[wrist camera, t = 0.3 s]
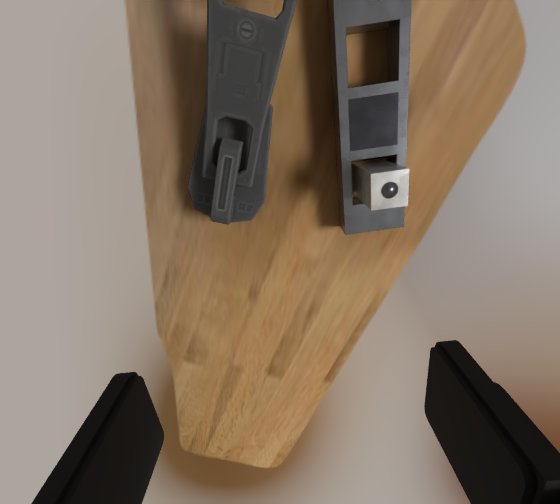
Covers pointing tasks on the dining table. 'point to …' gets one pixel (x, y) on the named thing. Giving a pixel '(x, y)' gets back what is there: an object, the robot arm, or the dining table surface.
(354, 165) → the grey tall square block
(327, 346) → the dining table surface
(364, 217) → the rail
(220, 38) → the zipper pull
